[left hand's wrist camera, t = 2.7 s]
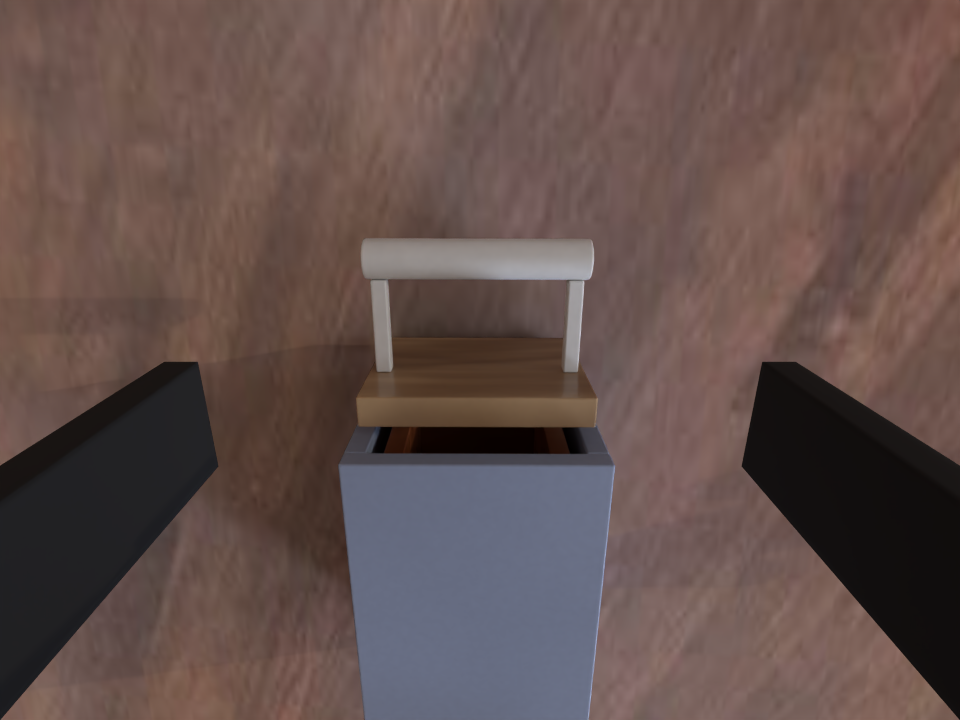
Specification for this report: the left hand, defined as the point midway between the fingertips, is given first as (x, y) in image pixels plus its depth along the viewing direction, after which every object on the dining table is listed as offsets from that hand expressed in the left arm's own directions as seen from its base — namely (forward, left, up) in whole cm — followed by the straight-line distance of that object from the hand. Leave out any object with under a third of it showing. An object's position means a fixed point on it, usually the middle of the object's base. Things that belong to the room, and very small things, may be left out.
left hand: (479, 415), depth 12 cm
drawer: (+7, +2, -13) cm, 15 cm away
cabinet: (+12, +4, -14) cm, 19 cm away
